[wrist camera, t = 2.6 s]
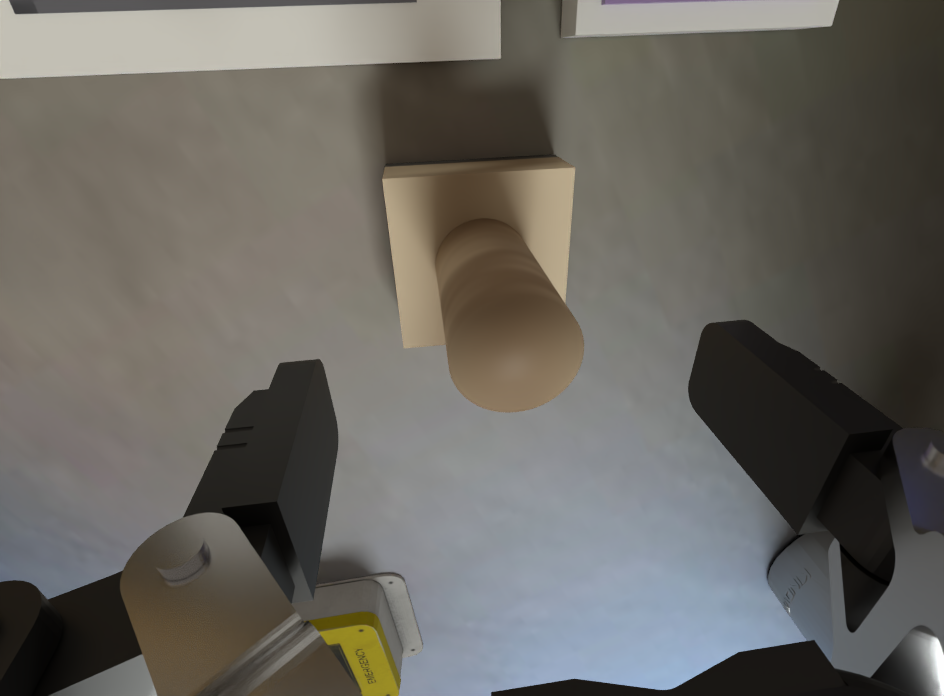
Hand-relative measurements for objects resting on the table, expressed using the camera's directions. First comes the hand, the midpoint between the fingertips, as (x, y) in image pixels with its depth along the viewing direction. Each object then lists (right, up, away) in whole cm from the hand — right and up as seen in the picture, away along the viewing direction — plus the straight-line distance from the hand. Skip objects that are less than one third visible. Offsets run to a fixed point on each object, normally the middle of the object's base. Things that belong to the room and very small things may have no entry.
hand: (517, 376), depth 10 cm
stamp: (-1, +5, +8) cm, 10 cm away
